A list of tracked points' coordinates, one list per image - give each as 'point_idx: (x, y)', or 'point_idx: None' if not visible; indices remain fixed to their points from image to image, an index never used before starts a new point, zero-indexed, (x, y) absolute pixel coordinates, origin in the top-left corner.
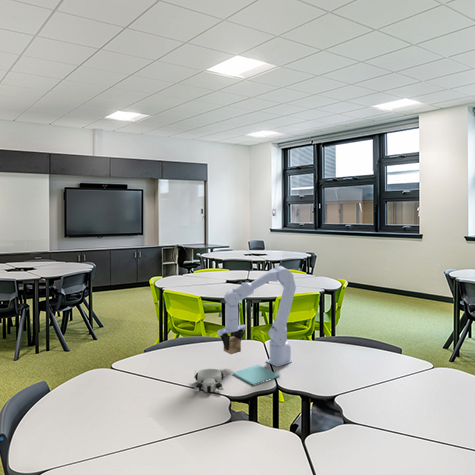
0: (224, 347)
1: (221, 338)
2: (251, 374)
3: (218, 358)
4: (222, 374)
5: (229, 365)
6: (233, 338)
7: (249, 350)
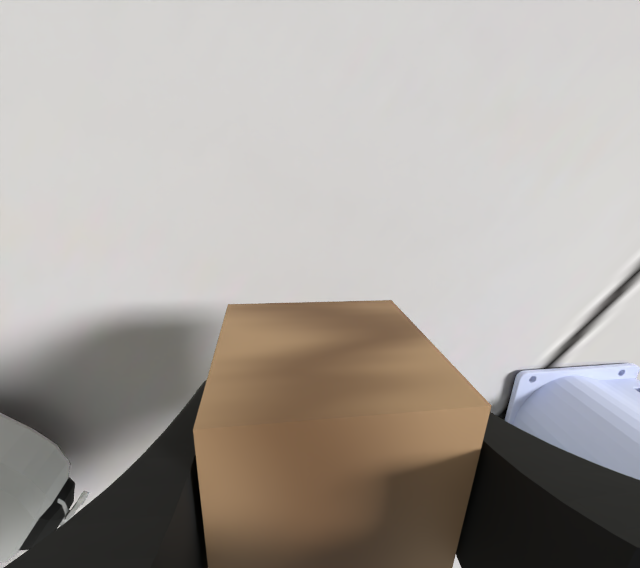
0: (196, 393)
1: (53, 547)
2: None
3: (300, 66)
4: (40, 537)
5: (284, 277)
6: (396, 504)
7: (633, 113)
